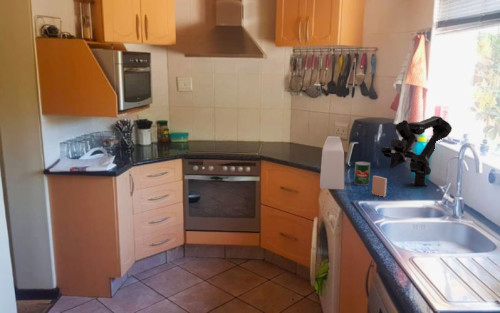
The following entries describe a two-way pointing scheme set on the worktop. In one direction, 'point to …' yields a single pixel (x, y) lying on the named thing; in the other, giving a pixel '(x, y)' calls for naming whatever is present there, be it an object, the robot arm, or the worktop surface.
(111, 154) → the worktop surface
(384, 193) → the tile
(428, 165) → the robot arm
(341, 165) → the milk
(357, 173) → the canned tomato
